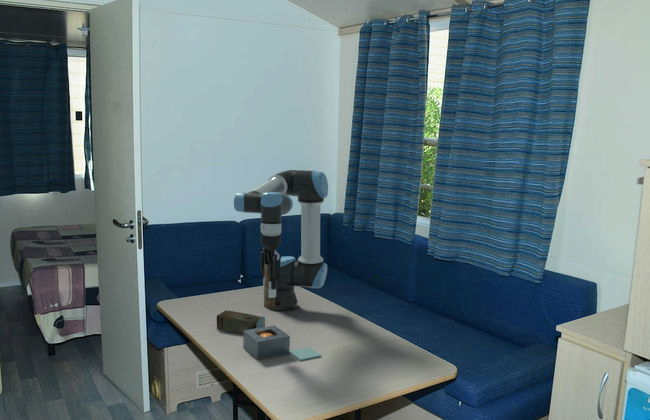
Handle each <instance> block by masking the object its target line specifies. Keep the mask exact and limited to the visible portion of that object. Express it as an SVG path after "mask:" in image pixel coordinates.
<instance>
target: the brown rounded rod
mask: <svg viewBox="0 0 650 420" xmlns="http://www.w3.org/2000/svg"><path fill="white" fill-rule="evenodd" d="M269 279H270V269H269V264H265V282H264V295H263V297H264V298H263V307H264V308H266V309H268V308H273V307H275V297H274V298H269Z"/></svg>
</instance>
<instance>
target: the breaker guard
mask: <svg viewBox="0 0 650 420" xmlns="http://www.w3.org/2000/svg"><path fill="white" fill-rule="evenodd" d="M262 333H270V334H273V336H269V337H263V338H261V337H260V334H262ZM242 335H243V338H242V339H243V343H242V344H243V346H242V348H243V349H244V350H245V351H246V352H247V353H248V354H249V355H251V356H252V357H253V358H255V360H256V361H260V360H266V359H271V358H276V357H280V356H281V357H283V356H287V355H290V353H289V351H290V344H291V343H290V341H291V337H290V335H289V334H288V333H286V332H284V331H283V330H282V329H280V328H278V327H277V326H276V325H269V326H265V327H262V328H256V329H250V330H244V333H242Z"/></svg>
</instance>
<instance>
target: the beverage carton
mask: <svg viewBox="0 0 650 420" xmlns="http://www.w3.org/2000/svg"><path fill="white" fill-rule="evenodd" d="M262 327H266V317H265V316H262V315H261V316H260V315H254V314H249V313H244V312H239V311H234V310H228V309H226V310H224V311H223V312H220V313H219V314H217V315H216V329H217V330H222V331H224V330H225V331H227V330H228V332H234V333H239V334H243V333H244V330H250V329H256V328H262Z"/></svg>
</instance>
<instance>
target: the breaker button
mask: <svg viewBox="0 0 650 420" xmlns="http://www.w3.org/2000/svg"><path fill="white" fill-rule="evenodd" d="M269 336H273V334H270V333H262V334H260V337H261V338H263V337H269Z"/></svg>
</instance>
